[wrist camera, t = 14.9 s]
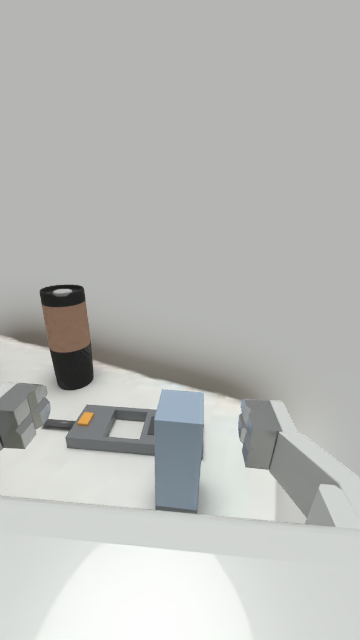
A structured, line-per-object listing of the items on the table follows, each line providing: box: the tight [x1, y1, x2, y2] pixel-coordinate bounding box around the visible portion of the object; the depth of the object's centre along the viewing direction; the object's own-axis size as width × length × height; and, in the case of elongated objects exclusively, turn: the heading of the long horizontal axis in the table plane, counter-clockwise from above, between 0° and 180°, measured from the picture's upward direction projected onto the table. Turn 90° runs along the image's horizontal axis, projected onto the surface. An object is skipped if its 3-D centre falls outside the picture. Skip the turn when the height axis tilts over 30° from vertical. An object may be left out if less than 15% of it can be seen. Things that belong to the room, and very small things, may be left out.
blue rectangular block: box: [154, 389, 204, 514], centre depth 26 cm, size 5×5×14 cm
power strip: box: [43, 405, 203, 459], centre depth 38 cm, size 26×7×2 cm, turn 86°
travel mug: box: [40, 285, 93, 390], centre depth 48 cm, size 8×8×20 cm
